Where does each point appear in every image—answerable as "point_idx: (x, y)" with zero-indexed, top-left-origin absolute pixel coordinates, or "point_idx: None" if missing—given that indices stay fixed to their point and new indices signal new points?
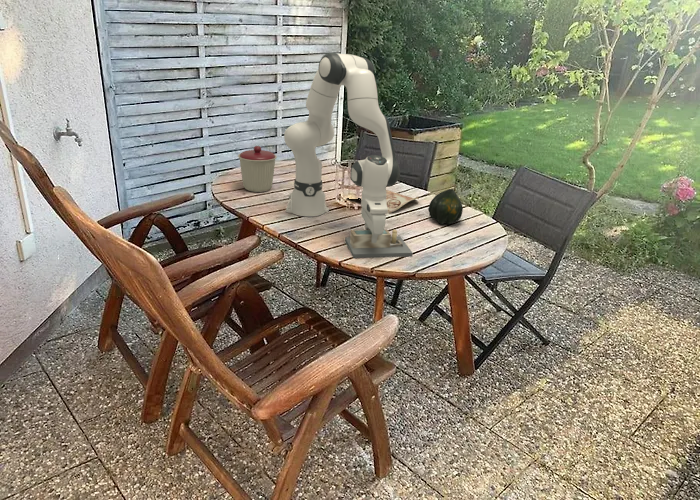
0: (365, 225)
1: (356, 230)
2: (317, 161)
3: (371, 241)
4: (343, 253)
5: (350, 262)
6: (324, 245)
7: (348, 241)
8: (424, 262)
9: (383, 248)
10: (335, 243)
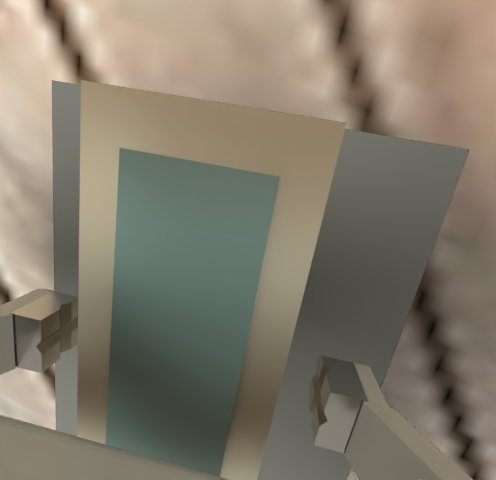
0: (397, 439)
1: (296, 221)
2: None
3: (49, 292)
4: (178, 36)
5: (10, 37)
6: None
7: (346, 144)
8: None
9: None
10: (421, 32)
